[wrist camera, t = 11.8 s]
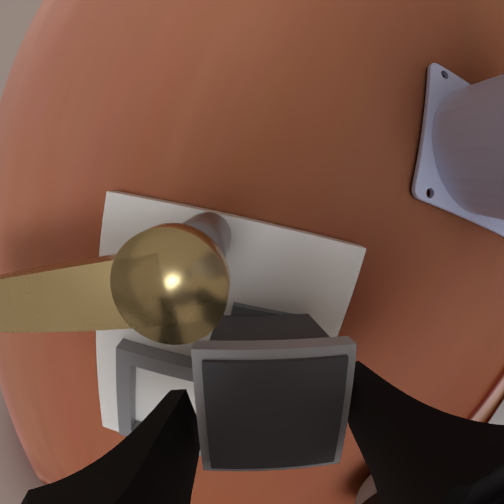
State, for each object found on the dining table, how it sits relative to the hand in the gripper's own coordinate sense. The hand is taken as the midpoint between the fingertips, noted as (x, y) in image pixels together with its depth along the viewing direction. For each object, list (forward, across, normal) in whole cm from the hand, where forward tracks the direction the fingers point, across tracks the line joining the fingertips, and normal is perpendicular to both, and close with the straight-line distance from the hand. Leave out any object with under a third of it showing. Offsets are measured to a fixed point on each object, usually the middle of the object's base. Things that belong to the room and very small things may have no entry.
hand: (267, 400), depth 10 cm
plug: (+3, 0, 0) cm, 3 cm away
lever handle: (-1, +7, -6) cm, 9 cm away
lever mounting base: (+5, +3, +1) cm, 6 cm away
